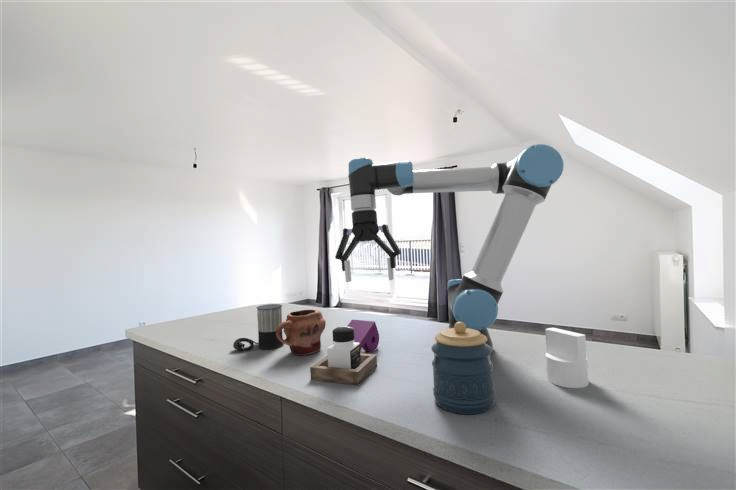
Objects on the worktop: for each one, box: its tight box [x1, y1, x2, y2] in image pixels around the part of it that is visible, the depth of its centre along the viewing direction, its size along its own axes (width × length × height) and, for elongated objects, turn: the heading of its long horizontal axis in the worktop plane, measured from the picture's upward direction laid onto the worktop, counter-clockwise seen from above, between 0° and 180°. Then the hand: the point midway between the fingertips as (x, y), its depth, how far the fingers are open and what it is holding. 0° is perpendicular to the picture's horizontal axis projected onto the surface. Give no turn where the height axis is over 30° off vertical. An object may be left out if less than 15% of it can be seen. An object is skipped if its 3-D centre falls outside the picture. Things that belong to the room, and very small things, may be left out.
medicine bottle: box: [326, 325, 361, 369], centre depth 96 cm, size 7×7×12 cm
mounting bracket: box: [347, 319, 380, 353], centre depth 114 cm, size 9×8×18 cm
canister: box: [431, 322, 495, 415], centre depth 76 cm, size 13×13×18 cm
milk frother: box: [232, 303, 285, 352], centre depth 125 cm, size 14×16×15 cm
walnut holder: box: [309, 352, 378, 386], centre depth 96 cm, size 14×14×3 cm
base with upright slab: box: [544, 327, 589, 389], centre depth 84 cm, size 9×9×12 cm
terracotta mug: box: [276, 309, 326, 356], centre depth 116 cm, size 20×12×14 cm, turn 145°
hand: (369, 280), depth 103 cm, fingers open, 13 cm apart
